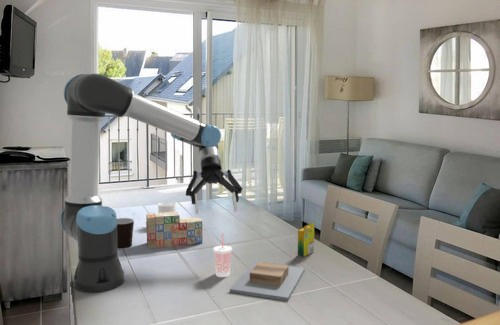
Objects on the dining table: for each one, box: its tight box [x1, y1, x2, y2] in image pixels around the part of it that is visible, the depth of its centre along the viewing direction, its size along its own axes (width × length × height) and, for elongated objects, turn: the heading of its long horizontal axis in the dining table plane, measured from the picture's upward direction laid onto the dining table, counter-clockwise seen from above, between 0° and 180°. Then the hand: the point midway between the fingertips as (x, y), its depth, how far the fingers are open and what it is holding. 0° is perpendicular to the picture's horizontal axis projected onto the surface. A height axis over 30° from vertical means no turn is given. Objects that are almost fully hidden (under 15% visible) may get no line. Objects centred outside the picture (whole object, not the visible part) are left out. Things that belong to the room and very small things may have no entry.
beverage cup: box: [213, 232, 233, 278], centre depth 150 cm, size 6×6×14 cm
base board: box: [229, 261, 305, 302], centre depth 146 cm, size 24×18×1 cm
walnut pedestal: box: [250, 261, 289, 286], centre depth 146 cm, size 10×10×4 cm
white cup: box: [157, 201, 177, 213], centre depth 205 cm, size 8×8×10 cm
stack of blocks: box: [145, 211, 203, 249], centre depth 182 cm, size 21×6×12 cm, turn 107°
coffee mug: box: [117, 217, 135, 250], centre depth 179 cm, size 12×9×10 cm
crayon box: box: [297, 222, 315, 258], centre depth 171 cm, size 7×3×12 cm, turn 141°
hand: (216, 210), depth 160 cm, fingers open, 13 cm apart
